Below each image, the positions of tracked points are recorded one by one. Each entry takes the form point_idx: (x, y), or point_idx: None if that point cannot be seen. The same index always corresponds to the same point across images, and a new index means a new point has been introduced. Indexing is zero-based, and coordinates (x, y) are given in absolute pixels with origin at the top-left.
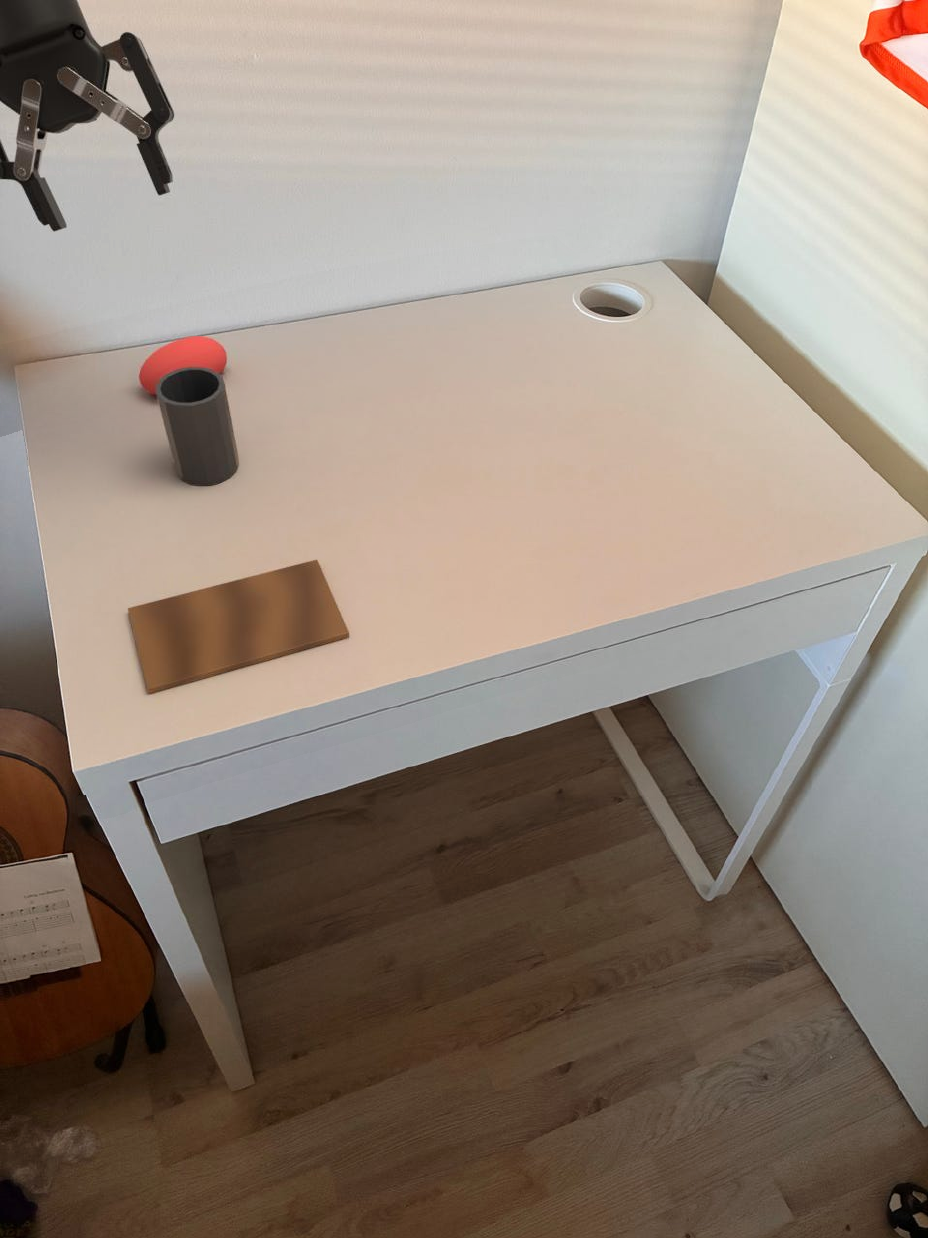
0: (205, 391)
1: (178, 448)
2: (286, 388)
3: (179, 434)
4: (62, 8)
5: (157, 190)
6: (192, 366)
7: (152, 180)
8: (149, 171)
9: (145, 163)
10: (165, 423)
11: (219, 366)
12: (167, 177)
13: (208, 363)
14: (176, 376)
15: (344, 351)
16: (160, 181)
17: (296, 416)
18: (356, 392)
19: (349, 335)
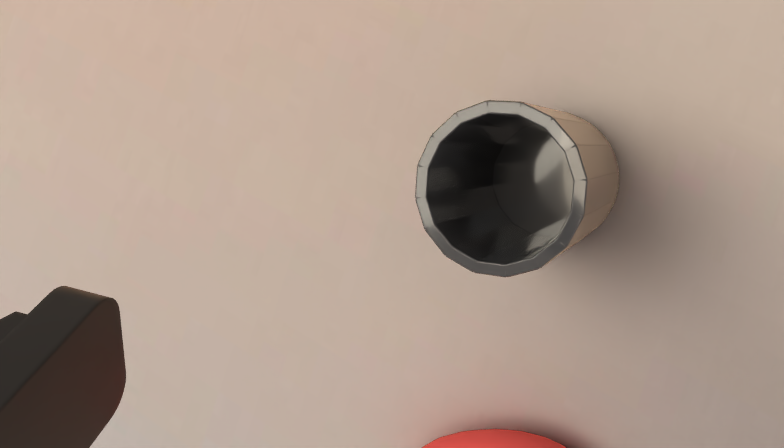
0: (472, 238)
1: (594, 139)
2: (334, 348)
3: (578, 128)
4: None
5: (95, 296)
6: (473, 444)
7: (67, 335)
8: (32, 367)
9: (2, 400)
10: (598, 170)
11: (423, 446)
12: (2, 331)
13: (439, 445)
14: (516, 260)
15: (209, 402)
16: (41, 313)
17: (346, 253)
18: (231, 271)
19: (187, 444)
